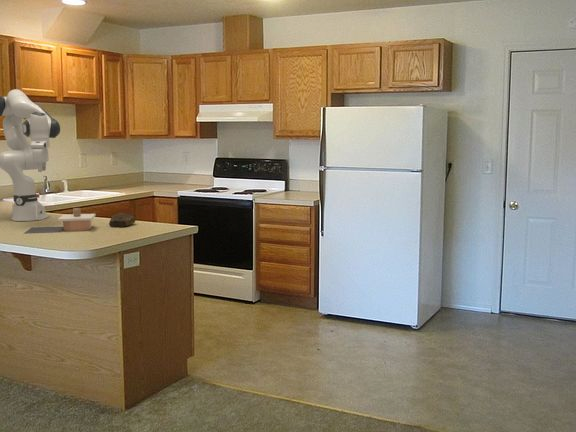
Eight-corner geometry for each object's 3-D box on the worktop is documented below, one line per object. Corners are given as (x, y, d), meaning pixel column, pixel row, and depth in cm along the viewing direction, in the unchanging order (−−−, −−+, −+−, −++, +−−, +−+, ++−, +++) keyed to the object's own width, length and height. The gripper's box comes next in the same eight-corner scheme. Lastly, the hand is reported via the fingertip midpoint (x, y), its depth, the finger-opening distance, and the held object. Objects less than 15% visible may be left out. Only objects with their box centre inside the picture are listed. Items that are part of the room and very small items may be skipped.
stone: (107, 228, 335) (106, 217, 334) (119, 221, 348) (119, 211, 347) (125, 229, 333) (124, 218, 332) (137, 223, 346) (136, 212, 345)
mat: (31, 228, 332) (31, 227, 332) (66, 227, 335) (66, 226, 335) (23, 234, 313) (23, 233, 313) (59, 233, 316) (59, 232, 316)
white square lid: (63, 216, 332) (62, 206, 332) (95, 215, 335) (95, 206, 334) (57, 221, 317) (57, 210, 316) (91, 220, 319) (91, 210, 319)
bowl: (66, 228, 332) (66, 216, 331) (92, 227, 334) (92, 216, 333) (62, 232, 319) (61, 220, 318) (89, 231, 321) (89, 219, 321)
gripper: (38, 143, 341) (39, 169, 343) (29, 144, 322) (31, 172, 323) (50, 143, 343) (52, 169, 345) (42, 144, 323) (44, 172, 325)
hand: (42, 171), depth 334 cm, fingers open, 8 cm apart
